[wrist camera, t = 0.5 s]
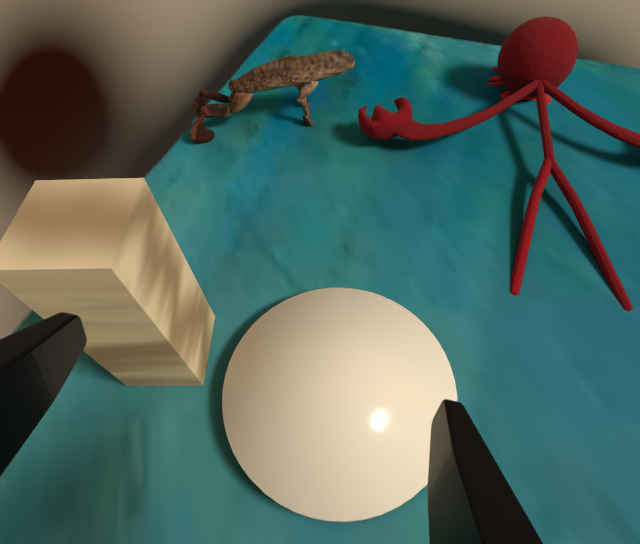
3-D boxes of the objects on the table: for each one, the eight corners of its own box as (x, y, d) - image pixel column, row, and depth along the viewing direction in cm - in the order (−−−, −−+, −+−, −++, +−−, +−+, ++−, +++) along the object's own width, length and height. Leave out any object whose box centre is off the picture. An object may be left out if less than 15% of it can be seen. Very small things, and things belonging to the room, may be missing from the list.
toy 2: (763, 349, 30) (667, 75, 44) (879, 312, 24) (724, 3, 37) (337, 304, 34) (368, 65, 47) (333, 261, 28) (371, -2, 41)
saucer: (425, 569, 20) (430, 570, 19) (183, 464, 24) (177, 460, 23) (469, 330, 28) (474, 321, 27) (280, 275, 31) (278, 265, 30)
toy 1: (256, 184, 45) (371, 87, 38) (183, 136, 39) (302, 8, 31) (254, 151, 49) (359, 55, 41) (186, 102, 42) (295, -22, 35)
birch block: (203, 385, 26) (110, 268, 16) (126, 385, 26) (-17, 270, 16) (215, 316, 29) (143, 177, 18) (145, 317, 29) (35, 180, 19)
